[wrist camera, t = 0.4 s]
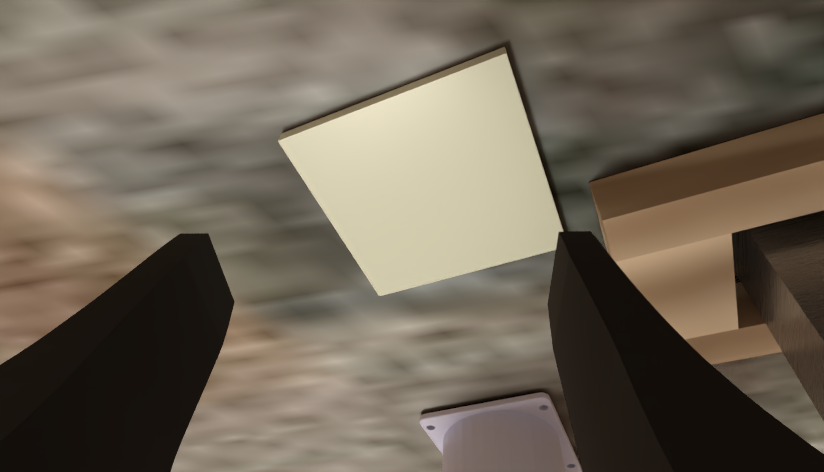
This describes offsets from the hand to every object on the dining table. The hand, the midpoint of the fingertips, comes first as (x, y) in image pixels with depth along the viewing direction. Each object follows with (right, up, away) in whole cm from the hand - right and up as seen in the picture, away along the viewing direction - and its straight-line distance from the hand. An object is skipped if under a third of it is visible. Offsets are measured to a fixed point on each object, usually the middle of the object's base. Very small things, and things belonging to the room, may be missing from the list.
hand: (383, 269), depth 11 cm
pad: (+1, +3, +11) cm, 11 cm away
